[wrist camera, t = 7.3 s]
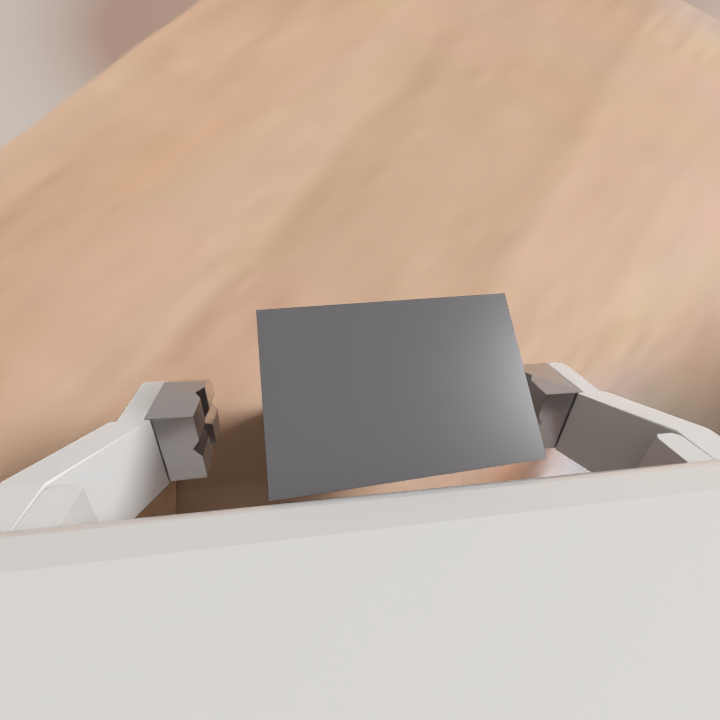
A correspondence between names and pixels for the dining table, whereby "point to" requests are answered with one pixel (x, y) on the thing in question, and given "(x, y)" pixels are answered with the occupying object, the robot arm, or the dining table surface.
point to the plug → (391, 393)
